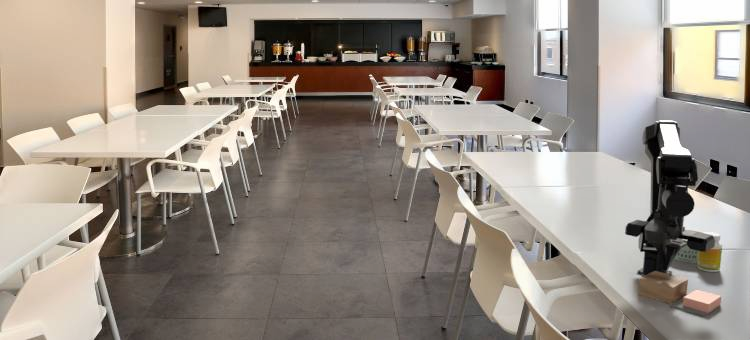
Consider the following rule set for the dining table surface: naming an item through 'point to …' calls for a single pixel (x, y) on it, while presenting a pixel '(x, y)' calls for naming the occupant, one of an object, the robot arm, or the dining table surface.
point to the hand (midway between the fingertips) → (665, 269)
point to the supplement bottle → (711, 256)
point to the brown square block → (662, 287)
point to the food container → (688, 251)
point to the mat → (679, 305)
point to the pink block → (702, 300)
